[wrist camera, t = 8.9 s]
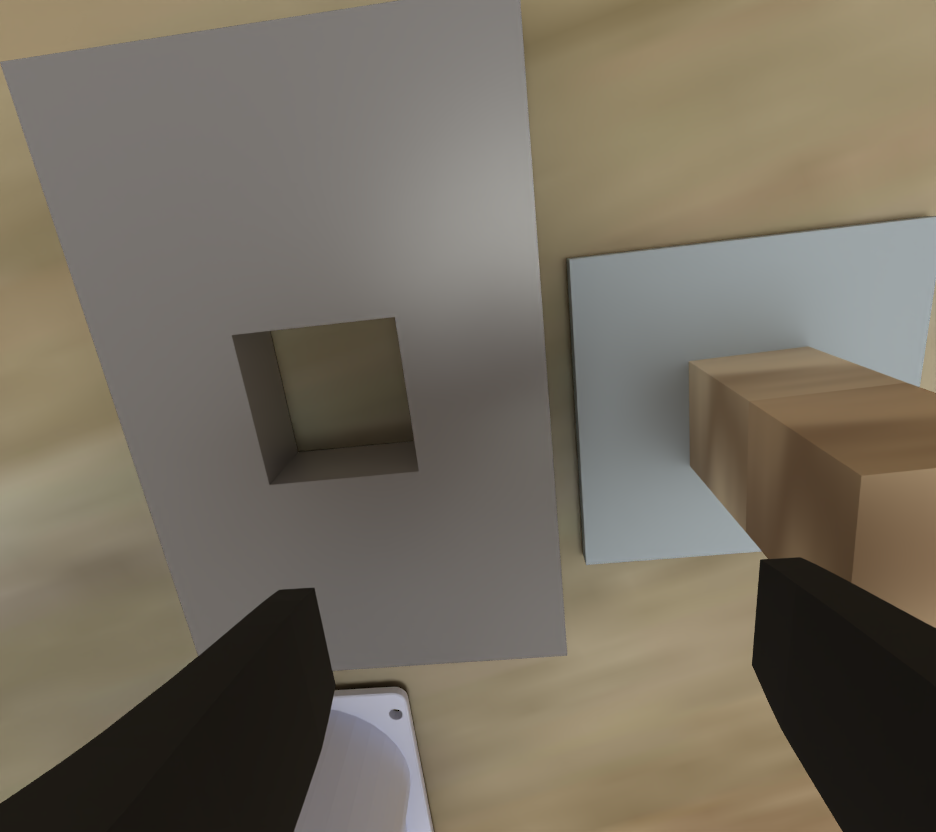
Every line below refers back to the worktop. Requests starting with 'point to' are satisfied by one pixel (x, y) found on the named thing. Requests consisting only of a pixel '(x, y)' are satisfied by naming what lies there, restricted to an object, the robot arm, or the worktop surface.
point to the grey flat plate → (320, 312)
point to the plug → (823, 466)
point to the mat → (719, 335)
